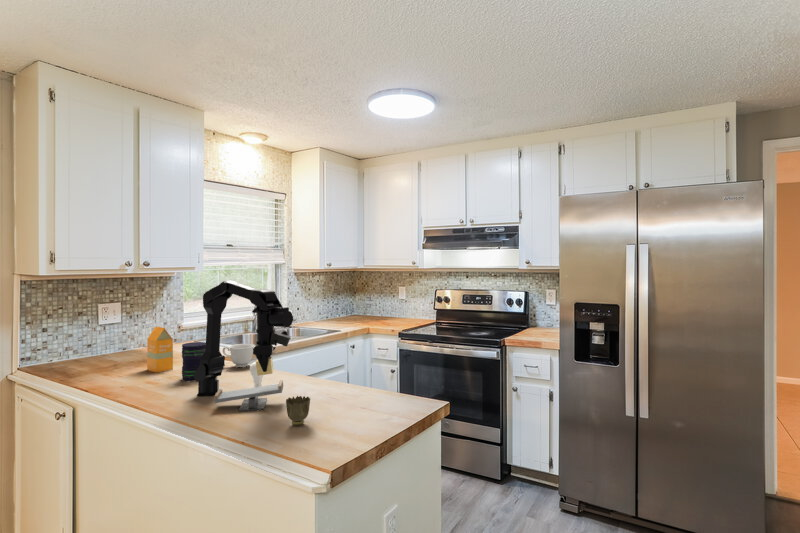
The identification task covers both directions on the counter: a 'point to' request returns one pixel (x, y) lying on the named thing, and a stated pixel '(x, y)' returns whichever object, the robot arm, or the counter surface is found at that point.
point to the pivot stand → (253, 404)
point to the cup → (297, 409)
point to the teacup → (240, 354)
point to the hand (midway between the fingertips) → (265, 370)
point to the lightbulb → (255, 375)
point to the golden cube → (269, 368)
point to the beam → (248, 392)
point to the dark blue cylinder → (191, 359)
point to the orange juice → (159, 350)
